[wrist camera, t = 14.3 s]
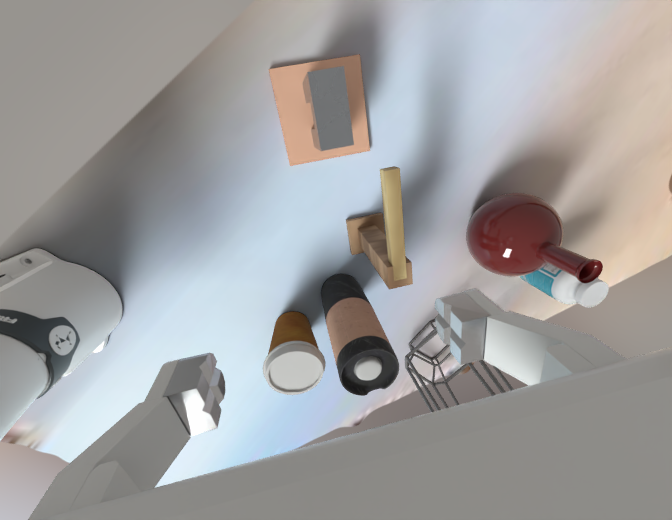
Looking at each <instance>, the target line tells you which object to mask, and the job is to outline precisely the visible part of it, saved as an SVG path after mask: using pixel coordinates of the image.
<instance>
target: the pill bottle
mask: <svg viewBox="0 0 672 520" xmlns="http://www.w3.org/2000/svg"><path fill="white" fill-rule="evenodd" d="M518 277H520V278H521V279H523V280H524V281H526V282H528V283H529V284H531V285H533V286H534V287H536V288H538V289H539V290H541V291H543V292H544V293H546V294H548V295H549V296H551V297H552V298H554V299H556V300H557V301H559V302H561V303H564V304H575V303H579V304H581V305H583V306H584V307H593V306H596V305H598V304H599V303H600V302H602V301H603V299H604V298H605V297H606V295H607V293H608V289H609V287H608V285H607V283H605V282H603V281H601V280H599V279H598V277H597V278H596V279H595V280H594V281H592V282H590V283H581V282H580V281H578V280H577V278H576V277H574V276H572V275H570V274H568V273H566V272H564V271H562V270H560V269H558V268H556V267H554V266H552V265H550V264H547V265H546V266H545V267H543V268H542V269H540V270H538V271H536V272H534V273H531V274H527V275H523V276H518Z"/></svg>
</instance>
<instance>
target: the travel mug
mask: <svg viewBox="0 0 672 520" xmlns="http://www.w3.org/2000/svg"><path fill="white" fill-rule="evenodd" d="M321 296H322V302H323V308H324V314H325V319H326V324H327V329H328V333H329V337H330V341H331V345H332V349H333V353H334V357H335V361H336V365H337V369H338V373H339V377H340V381H341V383H342V385H343V387H344V388H345V389H346V390H347V391H349V392H350V393H353V394H356V395H362V396H364V395H367V394H368V393H369V392H370V391H372V390H375V389H379V388H381V389H386V388H387V387H389V386H390V385H391V384H392V383H393V382H394V380H395V379H396V377H397V375H398V372H399V362H398V359H397V357H396V355H395V353H394V351H393V349H392V347H391V345H390V343H389V341H388V339H387V337H386V335H385V333H384V330H383V328H382V326H381V324H380V322H379V320H378V318H377V316H376V314H375V312H374V310H373V308H372V306H371V304H370V303H369V301H368V299H367V297H366V296H365V294H364V292H363V290H362V289H361V287H360V285H359V283H358V282H357V281H356V279H355V278H353V277H352V276H350V275H347V274H337V275H334V276H332V277H330V278H329V279H327V280H326V281H325V283H324V284H323V286H322V290H321Z"/></svg>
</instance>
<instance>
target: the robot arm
mask: <svg viewBox="0 0 672 520" xmlns="http://www.w3.org/2000/svg"><path fill="white" fill-rule="evenodd" d="M29 259H30V260H31V261H32V262H31V261H29ZM435 309H436V310H437V311H438V312H439V313H438V315H437V316H436V318H435V324H436V329H437V332H438V334H439V336H440V338H441V340H442V341H443V342H444V343H445V344H448V345H450V352H451V353H452V354H453V356H454V357H455V358H456V360H457V361H458V362H459V363H460V365H462V364H466V363H470V362H475V361H479V360H483V359H484V361H486V362H488V363H489V364H491V365H493V366H495V367H497V368H498V369H500V370H502V371H504V372H506V373H508V374H510V375H511V376H513V377H515V378H517V379H519V380H520V381H522V382H524V383H526V384H528V385H529V386H526V387H523V388H519V389H516V390H512V391H508V392H504V393H501V394H497V395H494V396H490V397H487V398H483V399H479V400H475V401H472V402H468V403H465V404H461V405H457V406H453V407H450V408H446V409H442V410H439V411H435V412H431V413H428V414H424V415H420V416H417V417H413V418H409V419H406V420H402V421H398V422H395V423H391V424H387V425H384V426H380V427H376V428H372V429H369V430H365V431H362V432H358V433H354V434H351V435H347V436H343V437H340V438H336V439H332V440H329V441H325V442H321V443H318V444H314V445H310V446H307V447H304V448H299V449H296V450H292V451H288V452H285V453H281V454H277V455H274V456H270V457H266V458H263V459H259V460H255V461H252V462H248V463H244V464H241V465H237V466H233V467H230V468H226V469H222V470H219V471H215V472H211V473H208V474H204V475H200V476H197V477H193V478H190V479H186V480H182V481H179V482H175V483H171V484H168V485H164V486H160V487H157V488H154V487H155V486H156V485H157V483H158V482H159V480H160V479H161V478H162V476H163V475H164V474H165V472H166V471H167V469H168V468H169V467H170V465H171V464H172V462H173V461H174V460H175V458H176V457H177V456H178V454H179V453H180V451H181V450H182V449H183V447H184V446H185V445H186V443H187V442H188V440H189V439H190V438H191V437H190V436H192V435H196V434H199V433H202V432H206V431H209V430H213V429H216V428H217V427H218V423H219V418H220V414H221V408H220V406H219V404H220V402H221V401H222V400H223V399H224V395H225V381H224V376H223V374H222V372H221V370H219V369H217V368H215V366H216V362H217V361H216V359H215V357H214V355H213V354H212V353H206V354H202V355H197V356H193V357H188V358H183V359H180V360H175V361H171V362H167V363H165V364H164V365H163V366H162V368H161V370H160V372H159V374H158V375H157V377H156V379H155V381H154V383H153V385H152V387H151V389H150V391H149V393H148V395H147V397H146V399H145V401H144V402H142V403H139V404H138V405H137V406H135V407H134V408H133V409H132V410H131V411H130V412H128V413H127V414H126V415H125V416H124V417H123V418H122V419H120V420H119V421H118V422H117V423H116V424H115V425H114V426H112V427H111V428H110V429H109V430H108V431H107V432H105V433H104V434H103V435H102V436H101V437H100V438H99V439H97V440H96V441H95V442H94V443H93V444H92V445H91V446H89V447H88V448H87V449H86V450H85V451H84V452H83V453H81V454H80V455H79V456H78V457H77V458H76V459H74V460H73V461H72V462H71V463H70V464H69V465H68V466H66V467H65V468H64V469H63V470H62V471H61V472H60V473H58V475H57V476H56V478H55V479H54V481H53V482H52V484H51V485H50V487H49V488H48V490H47V491H46V493H45V495H44V496H43V498H42V499H41V501H40V502H39V504H38V505H37V507H36V508H35V510H34V511H33V513H32V514H31V516H30V518H29V519H28V520H672V347H669V348H666V349H662V350H658V351H655V352H651V353H647V354H644V355H640V356H636V357H633V358H629V359H626V358H625V357H623V356H622V355H620V354H619V353H617V352H616V351H614V350H613V349H611V348H610V347H609V346H607V345H606V344H604V343H603V342H601V341H600V340H598V339H597V338H595V337H594V336H592V335H590V334H587V333H583V332H580V331H576V330H573V329H569V328H566V327H563V326H559V325H556V324H552V323H549V322H545V321H542V320H538V319H535V318H531V317H528V316H525V315H521V314H518V313H514V312H511V311H509V312H505V311H504V310H503V309H501V308H500V307H499V306H498V305H496V304H495V303H494V302H493V301H491V300H490V299H489V298H488V297H486V296H485V295H484V294H483V293H482V292H480V291H479V290H477V289H472V290H468V291H464V292H462V293H458V294H454V295H450V296H446V297H442V298H438V299H436V301H435ZM121 317H122V303H121V299H120V297H119V295H118V293H117V291H116V290H115V289H114V287H113V286H112V285H111V284H110V283H109V282H108V281H107V280H106V279H105V278H103V277H102V276H101V275H99V274H98V273H96V272H94V271H92V270H90V269H88V268H86V267H83V266H80V265H77V264H74V263H70V262H66V261H63V260H61V259H59V258H57V257H56V256H54V255H52V254H51V253H49V252H47V251H45V250H42V249H39V248H35V249H31V250H29V251H26V252H24V253H21V254H19V255H17V256H14V257H12V258H9V259H7V260H5V261H2V262H0V441H1V440H2V438H3V437H4V436H5V435H6V433H7V432H8V431H9V430H10V428H11V427H12V426H13V425H14V424H15V422H16V421H17V420H18V419H19V418H20V417H21V415H22V414H23V413H24V412H25V411H26V410H27V408H28V407H29V406H30V405H31V404H32V403H33V402H34V400H36V399H38V398H40V397H41V396H43V395H44V394H45V393H46V392H47V391H48V390H49V389H51V388H52V387H53V386H54V385H55V384H56V383H57V382H58V381H59V380H60V379H61V378H62V376H67V375H69V374H70V373H72V372H73V371H74V370H75V369H76V368H77V367H78V366H79V365H80V364H81V363H82V362H83V361H84V360H85V359H86V358H87V357H88V356H89V355H90V354H91V353H97V352H100V351H102V350H103V349H104V348H105V347H106V345H107V342H108V337H109V334H110V333H111V332H112V331H113V330H114V329H115V328H116V326H117V325H118V324H119V322H120V320H121Z"/></svg>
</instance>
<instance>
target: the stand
mask: <svg viewBox="0 0 672 520" xmlns="http://www.w3.org/2000/svg"><path fill="white" fill-rule="evenodd" d="M380 176H381V187H382V197H383V208H384V219H385V229H386V236H385V231H384V220H383V214H382V213H377V214H372V215H367V216H362V217H358V218H353V219H348V220H346V224H347V230H348V237H349V243H350V250H351V254H352V255H355V254H359V253H364V252H365V254H366V255H367V257H368V258H369V260H370V261H371V263H372V264H373V266H374V267H375V269H376V270H377V272H378V273H379V275H380V276H381V278H382V279H383V281H384V282H385V284H386V285H387V287H388V288H389V289H393V288H397V287H402V286H406V285H410V284H413V281H412V263H411V261H410V260H409V259H408V258H407V257H406V256H405V243H404V227H403V212H402V196H401V181H400V168H397V167H389V168H384V169H380Z"/></svg>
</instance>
